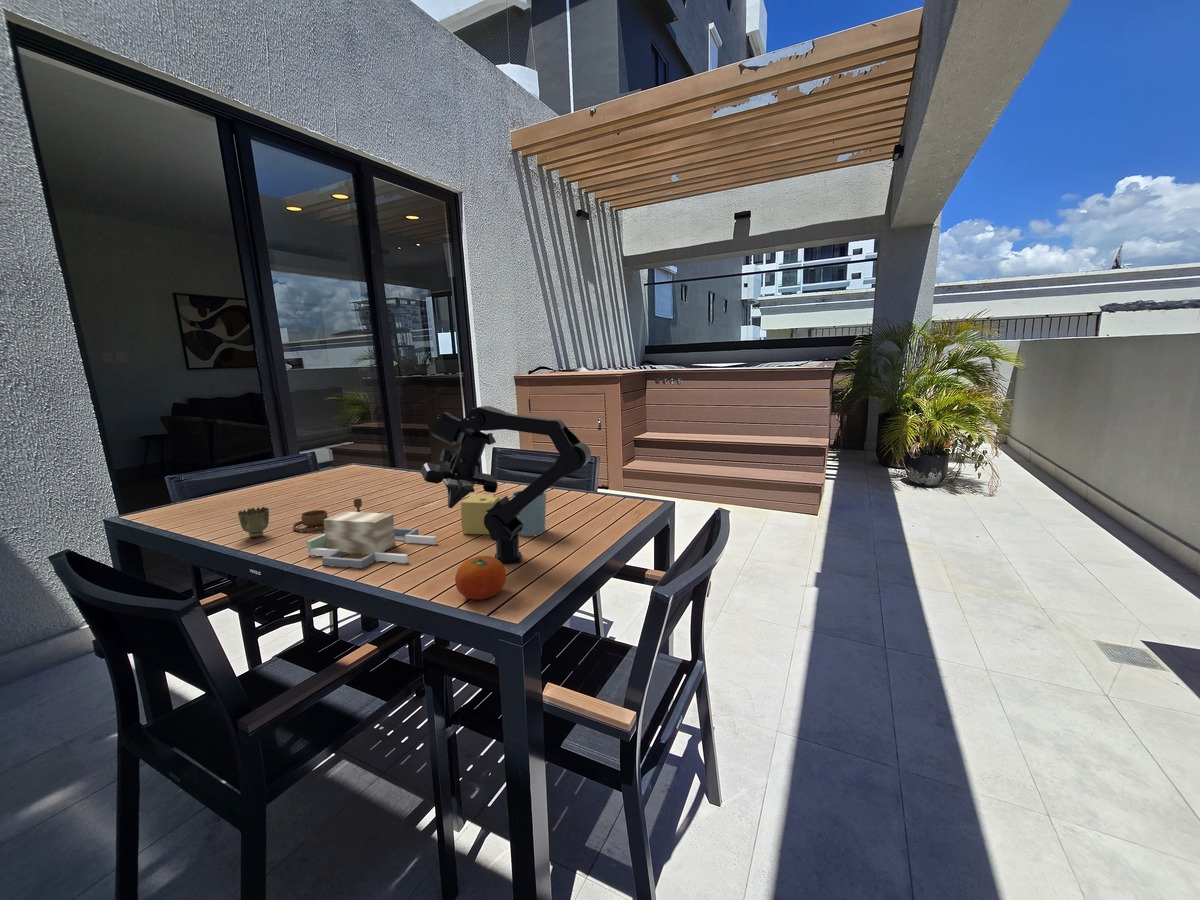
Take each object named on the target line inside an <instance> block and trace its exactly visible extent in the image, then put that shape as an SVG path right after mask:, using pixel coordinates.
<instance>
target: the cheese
mask: <svg viewBox="0 0 1200 900" xmlns="http://www.w3.org/2000/svg"><path fill="white" fill-rule="evenodd" d="M469 495H470V496H468V497H467V498H466V499H465V500H463V501H461V504H460V517H461V518H460V520H461V531H462V534H463V535H490V534H489V531H488V530H487V529H486V527H485V525H484V517H485V515H486V514H487V513H488V512H486V510H488V509H489V508H491V507H492V506H494V505H495V504H496V503H497V502H498V501H499V500H501V498H500V497H497V496H495V495H494V494H486V493H485V494H484V493H471V494H469Z"/></svg>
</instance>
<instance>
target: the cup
mask: <svg viewBox="0 0 1200 900" xmlns="http://www.w3.org/2000/svg"><path fill="white" fill-rule="evenodd" d="M237 516H238V519H239V523H240V527H241V529H242V530H243V531H244V532H246V533H248V537H249V538H250V537H252V539H254V538H253V537H257V538H260V537H259V536H261V537H262V535H263V536H264V535H265V534H264V533H265V532H264V530H266V529H267V527H268V525H269V521H270V519H269V517H270V510H269V507H265V506H262V507H261V508H260V507H259V506H258V507H257V508H255V507H251V508H248V509H247V510H245V509H243V511H242V510H239V511H238V512H237Z"/></svg>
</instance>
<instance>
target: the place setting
mask: <svg viewBox="0 0 1200 900" xmlns="http://www.w3.org/2000/svg"><path fill="white" fill-rule="evenodd" d="M362 505H363V500H362V498H354V499H353V506H354V508H355V509H356V512H361V509H360V508H361V507H362ZM327 518H329V516H328V511H327V510H324V509H316V510H310V511H306V512H303V513H302V514H301V520H299V521H297V522H295V523H293V524H292V528H293V530H294V531H295V530H296V531H295V532H297V531H303V532H302V533H309V532H308V531H315V532H316V533H315V534H323V533H322V532H320V531H318V530H321V531H325V530H324V529H325V528H324V519H327ZM301 524H304V525H303V526H305V528H301V527H300V528H299V527H298V528H296V526H298V525H301ZM320 526H321V527H320ZM306 527H307V528H306ZM308 527H309V528H308ZM316 527H317V528H316ZM317 532H318V533H317ZM319 532H320V533H319Z"/></svg>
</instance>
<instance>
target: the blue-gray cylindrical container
mask: <svg viewBox="0 0 1200 900" xmlns="http://www.w3.org/2000/svg"><path fill="white" fill-rule="evenodd" d="M521 491H522V490H517V491H515V492H513V493H511V499H512V498H514V497H515V496H516V495H518V494H519V493H520V492H521ZM546 505H547V492H546V491H544V492H543V493H542V494H541V495H539V496H538V497H537V498H536V499H534V500H533V501H532V502H531V503H529V504H528V505H527V506H526V507H524V508H523V510H522V511H521V512H520V514H519V515H518V516H517V518H518V519H519V520H520V521H521V522H522V523H523V528H522V531H521V532H519V533H518V535H521V536H520V537H523V536H535V535H539V534H542V533H543V532H544V533H545V532H546V514H547V513H546V512H547V510H546V507H547V506H546ZM542 535H543V534H542ZM535 537H536V536H535Z"/></svg>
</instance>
